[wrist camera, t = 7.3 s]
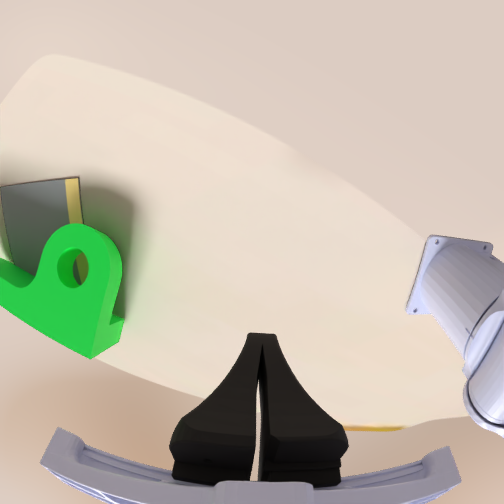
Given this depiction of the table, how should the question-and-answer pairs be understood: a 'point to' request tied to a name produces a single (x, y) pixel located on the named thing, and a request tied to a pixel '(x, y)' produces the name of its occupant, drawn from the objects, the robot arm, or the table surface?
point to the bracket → (69, 291)
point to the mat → (41, 220)
